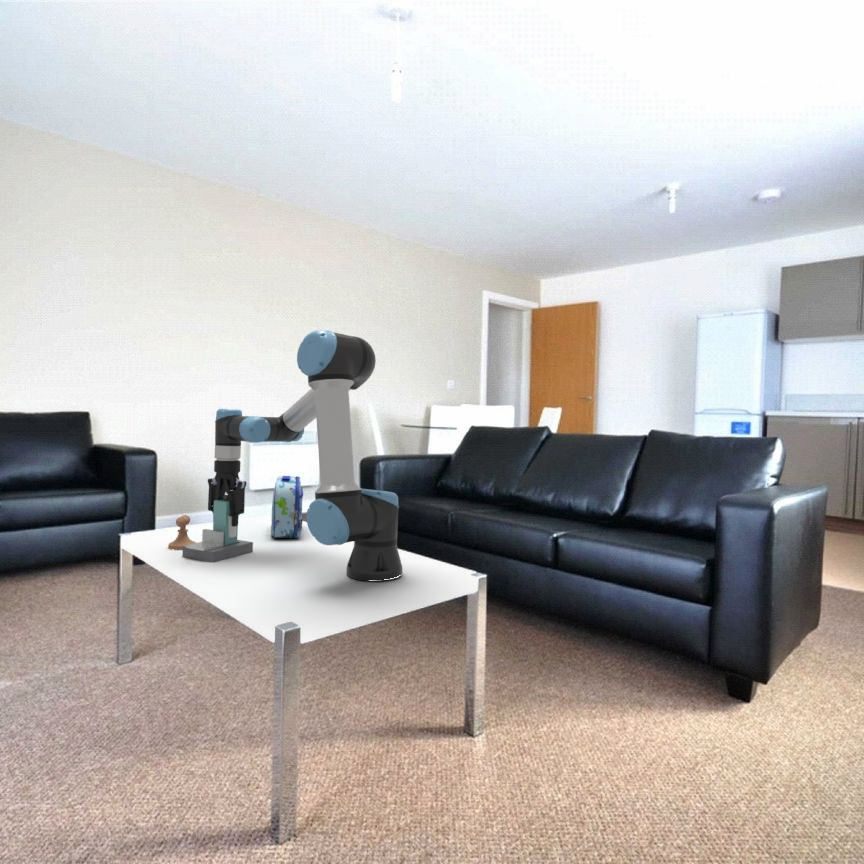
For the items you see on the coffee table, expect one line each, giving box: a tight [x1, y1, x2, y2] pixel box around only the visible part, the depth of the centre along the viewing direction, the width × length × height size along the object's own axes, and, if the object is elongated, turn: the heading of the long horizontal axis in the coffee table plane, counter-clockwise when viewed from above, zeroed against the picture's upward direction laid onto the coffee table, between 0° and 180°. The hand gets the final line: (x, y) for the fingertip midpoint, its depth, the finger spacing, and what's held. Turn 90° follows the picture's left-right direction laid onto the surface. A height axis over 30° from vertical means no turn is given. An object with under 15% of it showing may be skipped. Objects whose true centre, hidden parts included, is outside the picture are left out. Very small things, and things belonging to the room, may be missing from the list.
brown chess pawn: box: [168, 514, 197, 551], centre depth 182 cm, size 8×10×8 cm
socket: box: [181, 539, 254, 563], centre depth 175 cm, size 12×16×3 cm
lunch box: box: [270, 475, 304, 540], centre depth 209 cm, size 26×11×21 cm, turn 14°
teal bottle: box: [212, 494, 239, 545], centre depth 177 cm, size 5×5×15 cm
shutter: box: [186, 528, 224, 551], centre depth 170 cm, size 7×7×4 cm
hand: (225, 535), depth 177 cm, fingers closed on teal bottle, 5 cm apart
